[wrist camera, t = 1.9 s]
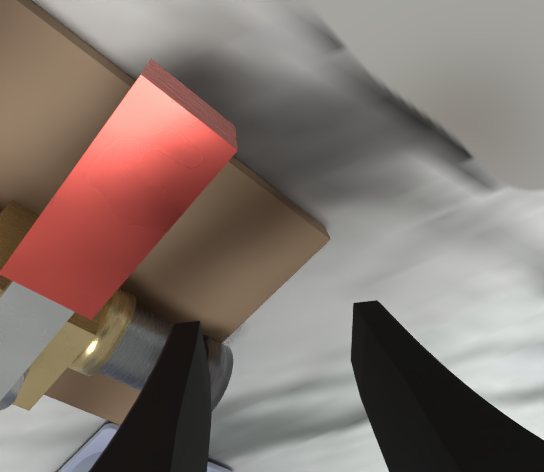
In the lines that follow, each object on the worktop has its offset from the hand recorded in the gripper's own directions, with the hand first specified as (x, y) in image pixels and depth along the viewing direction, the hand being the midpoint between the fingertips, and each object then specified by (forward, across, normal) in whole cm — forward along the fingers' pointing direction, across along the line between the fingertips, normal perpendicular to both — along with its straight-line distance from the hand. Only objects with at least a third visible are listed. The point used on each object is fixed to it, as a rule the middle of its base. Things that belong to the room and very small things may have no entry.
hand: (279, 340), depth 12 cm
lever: (+4, +6, -1) cm, 7 cm away
